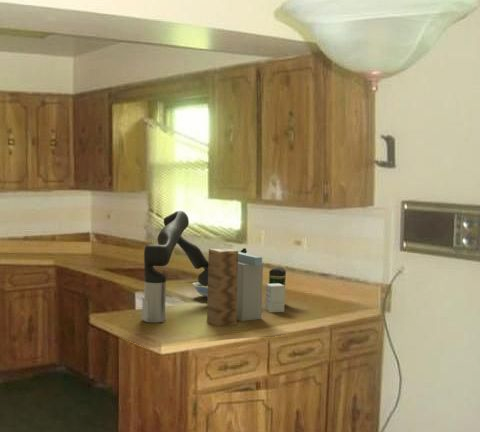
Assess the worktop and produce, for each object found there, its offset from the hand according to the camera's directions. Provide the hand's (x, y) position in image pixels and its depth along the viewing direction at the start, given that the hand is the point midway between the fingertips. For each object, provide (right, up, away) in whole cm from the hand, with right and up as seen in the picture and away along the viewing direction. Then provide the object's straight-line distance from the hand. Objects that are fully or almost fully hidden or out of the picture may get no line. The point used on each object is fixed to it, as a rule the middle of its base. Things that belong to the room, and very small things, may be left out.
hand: (237, 250), depth 337 cm
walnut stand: (-7, -31, -19) cm, 37 cm away
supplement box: (+18, -29, +11) cm, 36 cm away
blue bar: (+3, -5, -6) cm, 8 cm away
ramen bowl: (-12, -27, +40) cm, 50 cm away
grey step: (+3, -30, -5) cm, 31 cm away
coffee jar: (+19, -28, +26) cm, 43 cm away
